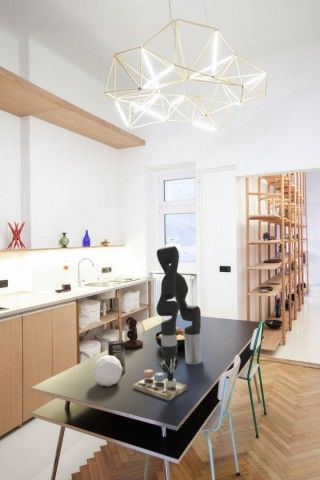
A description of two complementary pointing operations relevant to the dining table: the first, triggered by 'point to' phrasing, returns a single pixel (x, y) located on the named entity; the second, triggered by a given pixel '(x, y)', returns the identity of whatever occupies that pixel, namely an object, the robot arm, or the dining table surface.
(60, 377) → the dining table surface
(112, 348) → the coffee box
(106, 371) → the geometric shape
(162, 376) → the three dot button
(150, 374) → the two dot button
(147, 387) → the button board
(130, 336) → the dark brown tall piece
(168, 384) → the pale green button
